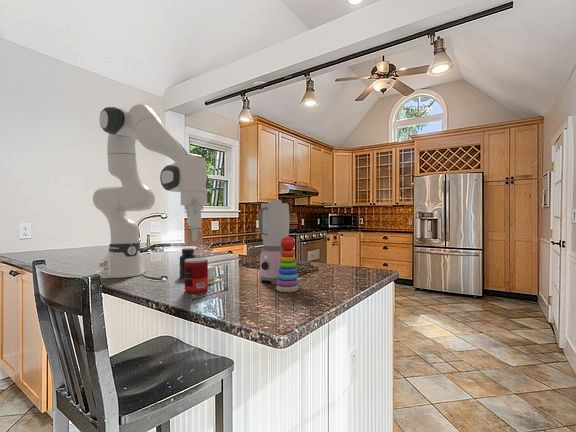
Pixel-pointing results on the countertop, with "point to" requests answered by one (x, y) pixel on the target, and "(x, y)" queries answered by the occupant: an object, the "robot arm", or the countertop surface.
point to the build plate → (214, 281)
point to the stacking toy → (287, 267)
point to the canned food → (196, 275)
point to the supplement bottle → (185, 255)
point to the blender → (272, 237)
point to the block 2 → (211, 273)
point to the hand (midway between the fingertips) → (194, 240)
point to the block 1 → (189, 238)
